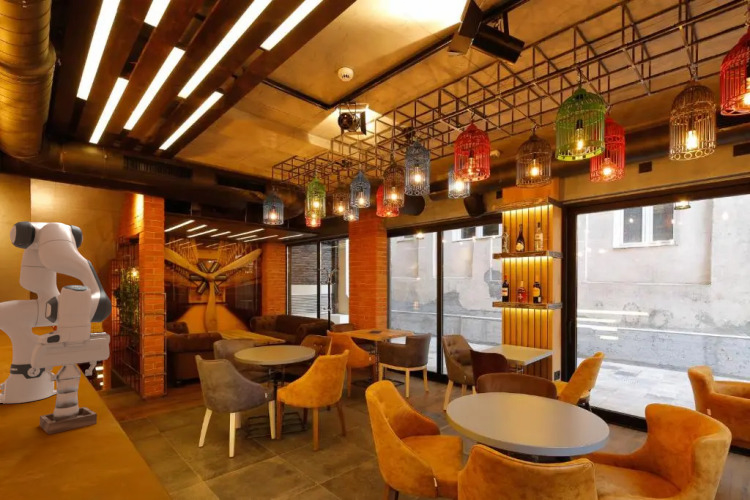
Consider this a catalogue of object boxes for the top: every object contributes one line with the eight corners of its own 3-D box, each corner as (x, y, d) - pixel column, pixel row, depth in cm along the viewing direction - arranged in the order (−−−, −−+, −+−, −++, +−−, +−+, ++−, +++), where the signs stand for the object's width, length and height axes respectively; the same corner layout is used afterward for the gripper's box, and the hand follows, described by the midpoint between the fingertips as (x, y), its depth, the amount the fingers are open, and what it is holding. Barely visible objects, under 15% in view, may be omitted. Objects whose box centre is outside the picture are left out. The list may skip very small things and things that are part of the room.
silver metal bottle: (64, 425, 121) (69, 360, 123) (46, 424, 122) (51, 359, 124) (83, 418, 127) (87, 356, 129) (66, 417, 128) (70, 356, 130)
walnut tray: (39, 425, 124) (40, 416, 124) (84, 415, 133) (85, 406, 133) (48, 434, 116) (49, 424, 117) (96, 423, 126) (96, 413, 126)
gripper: (107, 331, 137) (105, 371, 136) (31, 337, 121) (28, 382, 120) (113, 332, 133) (111, 373, 132) (36, 339, 117) (32, 386, 116)
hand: (71, 378), depth 126 cm, fingers open, 8 cm apart
